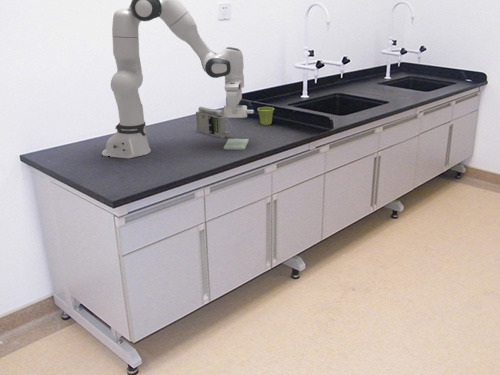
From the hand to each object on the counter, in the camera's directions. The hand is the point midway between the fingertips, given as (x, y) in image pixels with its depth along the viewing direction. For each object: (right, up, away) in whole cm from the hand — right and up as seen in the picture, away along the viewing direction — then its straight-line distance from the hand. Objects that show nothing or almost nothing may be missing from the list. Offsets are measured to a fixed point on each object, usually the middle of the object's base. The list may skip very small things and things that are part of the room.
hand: (235, 112), depth 236 cm
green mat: (0, -15, +6) cm, 16 cm away
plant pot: (+16, 0, +41) cm, 44 cm away
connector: (+2, -2, +1) cm, 2 cm away
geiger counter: (-11, -8, +24) cm, 27 cm away
